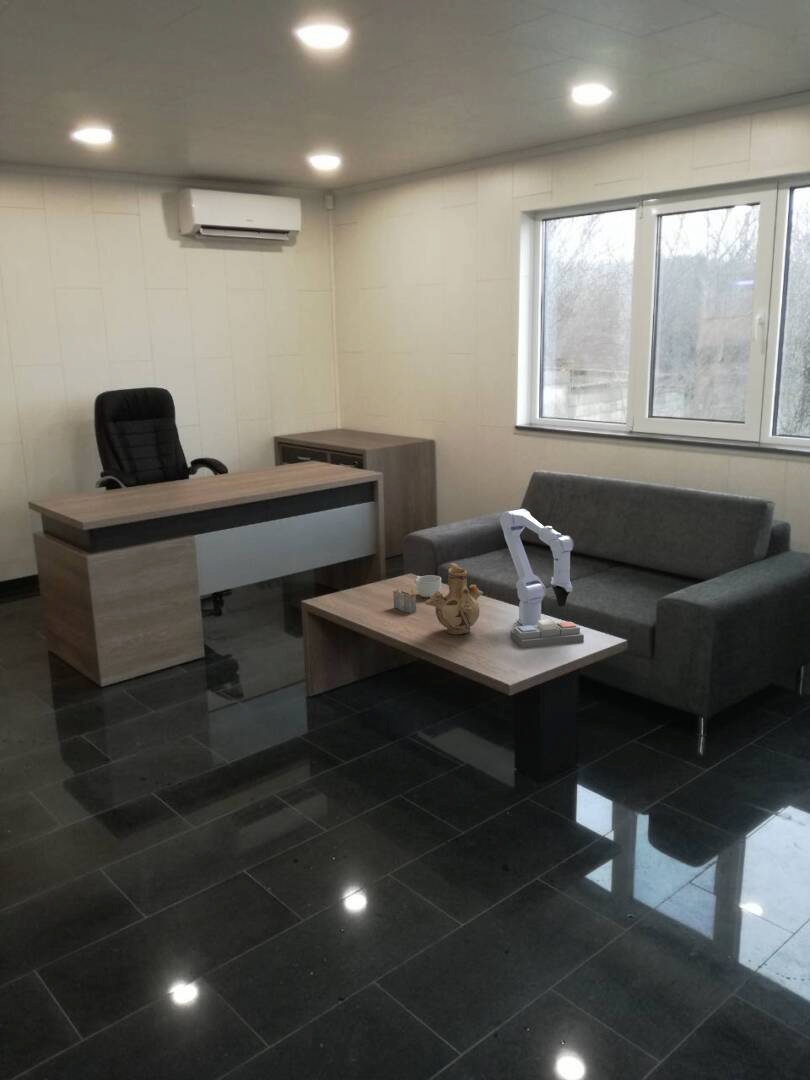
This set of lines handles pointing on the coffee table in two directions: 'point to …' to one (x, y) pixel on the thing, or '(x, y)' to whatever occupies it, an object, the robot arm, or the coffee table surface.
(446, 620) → the ceramic vessel
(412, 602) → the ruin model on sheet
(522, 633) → the key panel
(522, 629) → the blue key
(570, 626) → the salmon pink key
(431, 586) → the teacup
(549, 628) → the white key
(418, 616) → the coffee table surface
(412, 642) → the coffee table surface
